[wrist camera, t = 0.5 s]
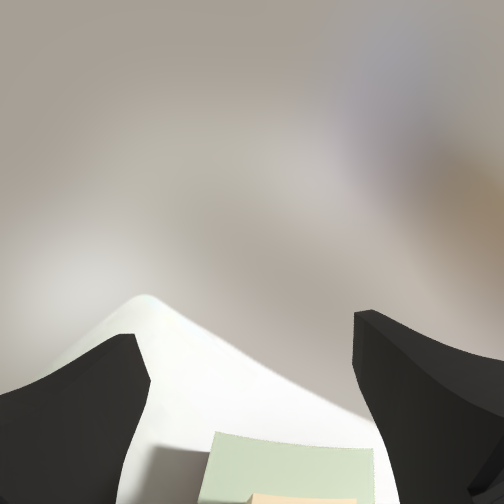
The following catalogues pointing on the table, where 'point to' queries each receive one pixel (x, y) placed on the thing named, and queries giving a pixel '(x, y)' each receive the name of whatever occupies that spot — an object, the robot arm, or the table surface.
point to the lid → (285, 473)
